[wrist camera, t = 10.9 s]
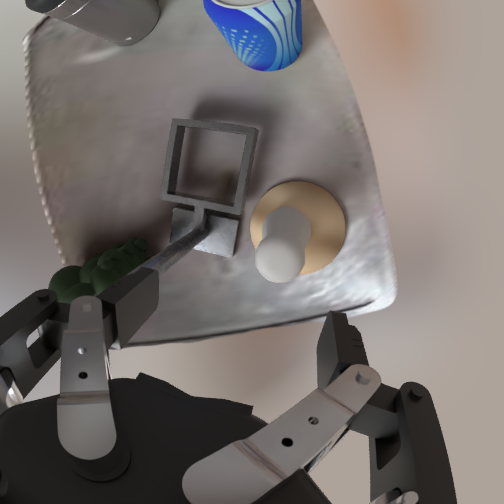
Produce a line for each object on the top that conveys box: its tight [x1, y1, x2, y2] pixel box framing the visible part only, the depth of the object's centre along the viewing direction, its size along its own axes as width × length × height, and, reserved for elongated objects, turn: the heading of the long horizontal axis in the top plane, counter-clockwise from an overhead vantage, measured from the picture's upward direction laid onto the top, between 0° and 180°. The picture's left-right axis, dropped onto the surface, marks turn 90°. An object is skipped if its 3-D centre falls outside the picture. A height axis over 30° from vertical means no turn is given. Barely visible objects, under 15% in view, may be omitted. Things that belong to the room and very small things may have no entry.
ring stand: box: [127, 118, 259, 276], centre depth 26 cm, size 16×10×22 cm, turn 169°
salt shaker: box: [255, 207, 311, 283], centre depth 29 cm, size 6×6×13 cm
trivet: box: [250, 181, 346, 275], centre depth 35 cm, size 12×12×1 cm
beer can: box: [203, 0, 302, 71], centre depth 21 cm, size 8×8×16 cm
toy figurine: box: [48, 237, 152, 304], centre depth 34 cm, size 9×19×25 cm
